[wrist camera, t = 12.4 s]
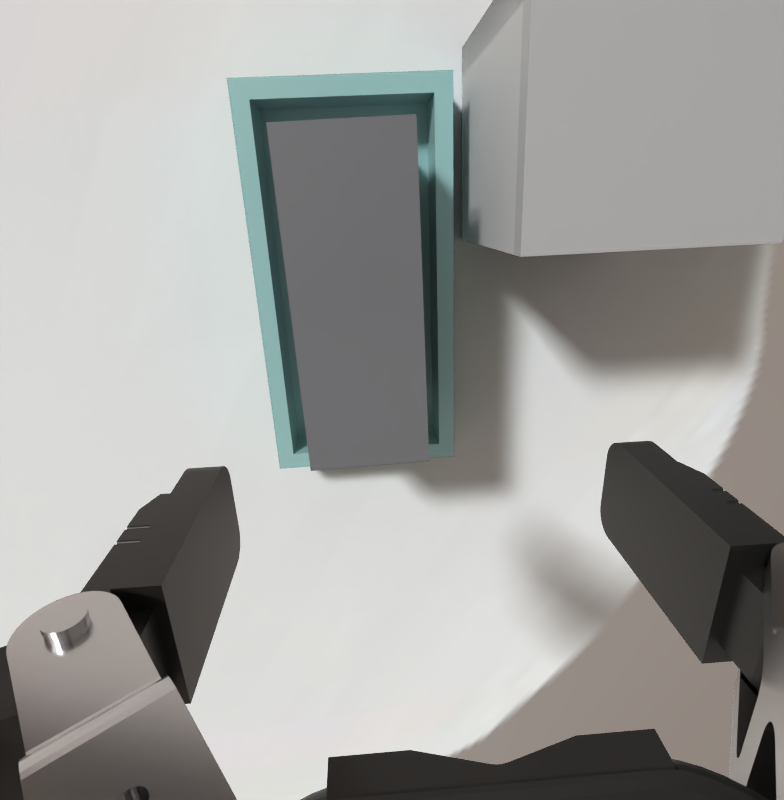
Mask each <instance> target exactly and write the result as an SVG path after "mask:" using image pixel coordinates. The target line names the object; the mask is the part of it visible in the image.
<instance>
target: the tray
mask: <svg viewBox="0 0 784 800" xmlns="http://www.w3.org/2000/svg"><path fill="white" fill-rule="evenodd" d="M227 83H228V91H229V98H230V105H231V112H232V120H233V127H234V134H235V142H236V149H237V156H238V164H239V171H240V178H241V186H242V193H243V200H244V208H245V215H246V222H247V230H248V237H249V244H250V252H251V259H252V266H253V274H254V281H255V288H256V296H257V303H258V310H259V318H260V325H261V332H262V340H263V347H264V354H265V362H266V369H267V376H268V384H269V391H270V398H271V406H272V413H273V420H274V428H275V435H276V442H277V450H278V457H279V464H280V469H281V468H295V467H309V466H310V461H309V453H308V445H307V437H306V429H305V422H304V414H303V406H302V398H301V390H300V383H299V375H298V367H297V359H296V351H295V344H294V336H293V328H292V320H291V313H290V305H289V297H288V289H287V281H286V274H285V266H284V258H283V250H282V242H281V235H280V227H279V219H278V211H277V203H276V196H275V188H274V180H273V172H272V164H271V157H270V149H269V141H268V133H267V125H266V122H282V121H300V120H318V119H336V118H354V117H372V116H391V115H409V114H416V116H417V143H418V170H419V198H420V225H421V252H422V279H423V306H424V333H425V361H426V388H427V415H428V442H429V458H437V457H451V456H454V229H453V70H436V71H409V72H381V73H353V74H325V75H298V76H270V77H242V78H227Z"/></svg>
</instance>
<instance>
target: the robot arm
mask: <svg viewBox="0 0 784 800" xmlns="http://www.w3.org/2000/svg"><path fill="white" fill-rule="evenodd" d="M601 520H602V525H603V528H604V531H605V533H606V535H607V537H608V538H609V539H610V541H611V542H612V543H613V545H614V546H615V547H616V549H617V550H618V552H619V553H620V554H621V556H622V557H623V558H624V560H625V561H626V562H627V564H628V565H629V566H630V568H631V569H632V570H633V572H634V573H635V574H636V576H637V577H638V578H639V580H640V581H641V582H642V584H643V585H644V586H645V588H646V589H647V590H648V592H649V593H650V594H651V596H652V597H653V598H654V600H655V601H656V602H657V604H658V605H659V606H660V608H661V609H662V611H663V612H664V613H665V615H666V616H667V617H668V618H669V620H670V621H671V622H672V624H673V625H674V627H675V628H676V629H677V631H678V632H679V633H680V635H681V636H682V637H683V639H684V640H685V641H686V643H687V644H688V645H689V647H690V648H691V649H692V650H693V652H694V653H695V655H696V656H697V657H698V659H699V660H700V661H701V663H715V662H725V661H726V662H727V661H733V662H734V663H735V664H736V665H737V667H738V668H739V669H738V673H737V677H736V680H735V685H734V700H733V718H732V735H731V753H730V771H729V778H728V777H725V776H723V775H721V774H718V773H716V772H713V771H711V770H708V769H706V768H703V767H700V766H697V765H693V764H690V763H686V762H683V761H679V760H674V759H671V757H670V756H669V754H668V752H667V750H666V749H665V747H664V745H663V743H662V741H661V740H660V738H659V736H658V734H657V733H656V731H655V729H647V730H636V731H624V732H613V733H601V734H590V735H580V736H579V735H578V736H574V737H572V738H569V739H567V740H564V741H562V742H559V743H556V744H554V745H551V746H549V747H546V748H544V749H541V750H539V751H536V752H534V753H531V754H528V755H526V756H523V757H521V758H518V759H516V760H513V761H511V762H508V763H505V764H499V765H494V764H486V763H480V762H475V761H468V760H463V759H458V758H452V757H446V756H440V755H435V754H429V753H423V752H418V751H412V750H407V751H396V752H384V753H373V754H362V755H350V756H339V757H329V758H328V777H327V788H325V789H323V790H320V791H317V792H315V793H312V794H310V795H309V796H307V797H305V798H303V799H301V800H784V536H783V535H782V534H780V533H779V532H778V531H777V530H775V529H774V528H773V527H771V526H770V525H769V524H768V523H766V522H765V521H764V520H763V519H761V518H760V517H759V516H757V515H756V514H755V513H754V512H752V511H751V510H750V509H749V508H747V507H746V506H745V505H743V504H739V503H738V500H737V499H736V498H735V497H733V496H732V495H731V494H729V493H728V492H727V491H723V488H722V487H721V486H719V485H718V484H717V483H715V482H714V481H713V480H712V479H710V478H709V477H708V476H707V475H705V474H704V473H702V472H699V471H697V470H695V469H693V468H691V467H688V466H686V465H684V464H682V463H680V462H677V461H676V460H675V459H673V458H672V457H671V456H670V455H668V454H667V453H666V452H665V451H664V450H662V449H661V448H660V447H659V446H657V445H656V444H655V443H653V442H651V441H640V442H624V443H614V444H612V445H611V446H610V448H609V450H608V454H607V461H606V469H605V477H604V485H603V492H602V500H601ZM239 552H240V532H239V526H238V520H237V514H236V508H235V502H234V497H233V491H232V485H231V479H230V475H229V472H228V469H227V468H226V467H225V466H221V467H205V468H189V469H187V470H186V471H185V472H184V473H183V475H182V477H181V478H180V480H179V481H178V483H177V484H176V486H175V488H174V489H173V491H172V492H171V494H160V495H159V496H157V497H156V498H155V499H153V500H152V501H150V502H149V503H148V504H146V505H145V506H144V507H142V508H141V509H139V511H138V512H137V514H136V515H135V516H134V518H133V519H132V521H131V522H130V523H129V525H128V526H127V530H125V531H124V532H123V533H122V535H121V536H120V538H119V539H118V540H117V545H114V546H113V547H112V549H111V550H110V552H109V553H108V555H107V556H106V557H105V559H104V560H103V562H102V563H101V564H100V566H99V567H98V569H97V570H96V571H95V573H94V574H93V576H92V577H91V578H90V580H89V581H88V583H87V584H86V586H85V587H84V588H83V590H82V591H81V593H77V594H73V595H70V596H66V597H64V598H61V599H59V600H56V601H54V602H52V603H50V604H48V605H46V606H45V607H43V608H41V609H39V610H38V611H37V612H35V613H34V614H32V615H31V616H30V617H28V618H27V619H26V620H25V621H24V622H23V623H22V624H21V625H20V626H19V627H18V628H17V629H16V630H15V632H14V633H13V634H12V636H11V638H10V639H9V641H8V644H7V646H4V647H1V648H0V800H237V799H236V797H235V795H234V793H233V792H232V790H231V788H230V786H229V784H228V782H227V781H226V779H225V777H224V775H223V773H222V771H221V769H220V768H219V766H218V764H217V762H216V760H215V758H214V757H213V755H212V753H211V751H210V749H209V747H208V746H207V744H206V742H205V740H204V738H203V736H202V735H201V733H200V731H199V729H198V727H197V725H196V723H195V722H194V720H193V718H192V716H191V714H190V712H189V711H188V709H187V707H186V705H185V704H189V703H191V701H192V698H193V695H194V692H195V689H196V686H197V683H198V680H199V677H200V674H201V671H202V668H203V665H204V662H205V659H206V656H207V653H208V650H209V647H210V644H211V641H212V638H213V635H214V632H215V629H216V626H217V623H218V620H219V617H220V614H221V611H222V608H223V605H224V602H225V599H226V596H227V593H228V590H229V587H230V584H231V581H232V578H233V575H234V572H235V569H236V566H237V562H238V558H239Z"/></svg>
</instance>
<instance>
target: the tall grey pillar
mask: <svg viewBox="0 0 784 800" xmlns="http://www.w3.org/2000/svg"><path fill="white" fill-rule="evenodd" d="M266 125H267V133H268V141H269V149H270V157H271V164H272V172H273V180H274V188H275V196H276V203H277V211H278V219H279V227H280V235H281V242H282V250H283V258H284V266H285V274H286V281H287V289H288V297H289V305H290V313H291V320H292V328H293V336H294V344H295V351H296V359H297V367H298V375H299V383H300V390H301V398H302V406H303V414H304V422H305V429H306V437H307V445H308V453H309V461H310V468H311V471H314V470H326V469H338V468H350V467H362V466H374V465H386V464H398V463H410V462H422V461H429V442H428V415H427V388H426V361H425V333H424V306H423V279H422V252H421V225H420V198H419V170H418V143H417V116H416V114H409V115H391V116H372V117H354V118H336V119H318V120H300V121H282V122H266Z"/></svg>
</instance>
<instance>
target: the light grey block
mask: <svg viewBox="0 0 784 800" xmlns="http://www.w3.org/2000/svg"><path fill="white" fill-rule="evenodd" d="M783 237H784V0H493V2H492V3H491V5H490V6H489V8H488V9H487V11H486V12H485V14H484V15H483V17H482V18H481V20H480V22H479V23H478V25H477V26H476V28H475V29H474V31H473V32H472V34H471V35H470V37H469V38H468V40H467V41H466V43H465V44H464V46H463V47H462V240H464V241H468V242H471V243H475V244H478V245H482V246H485V247H488V248H492V249H495V250H499V251H502V252H506V253H509V254H513V255H516V256H519V257H527V256H546V255H565V254H584V253H603V252H621V251H640V250H659V249H678V248H697V247H716V246H735V245H753V244H772V243H782V242H783Z"/></svg>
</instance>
